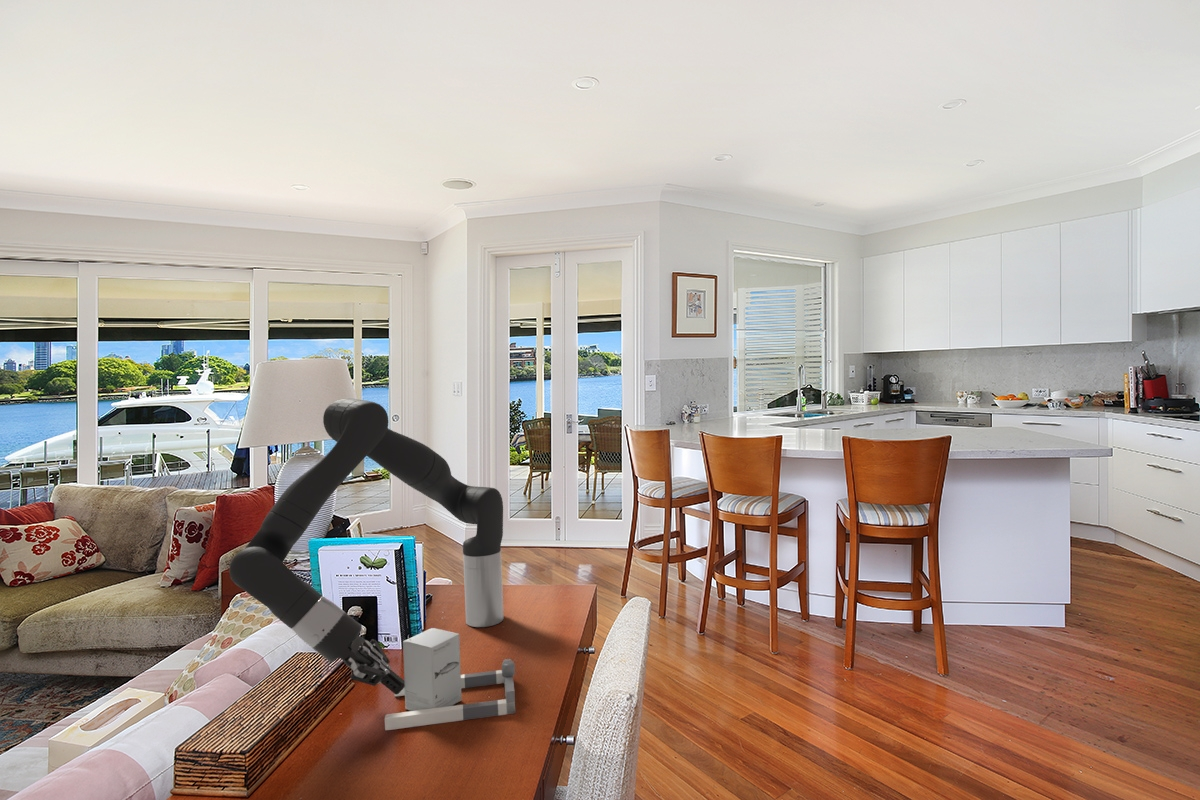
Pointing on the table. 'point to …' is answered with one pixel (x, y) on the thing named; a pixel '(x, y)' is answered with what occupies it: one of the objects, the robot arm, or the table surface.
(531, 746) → the table surface
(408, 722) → the guide channel
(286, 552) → the robot arm
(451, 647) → the supplement box
